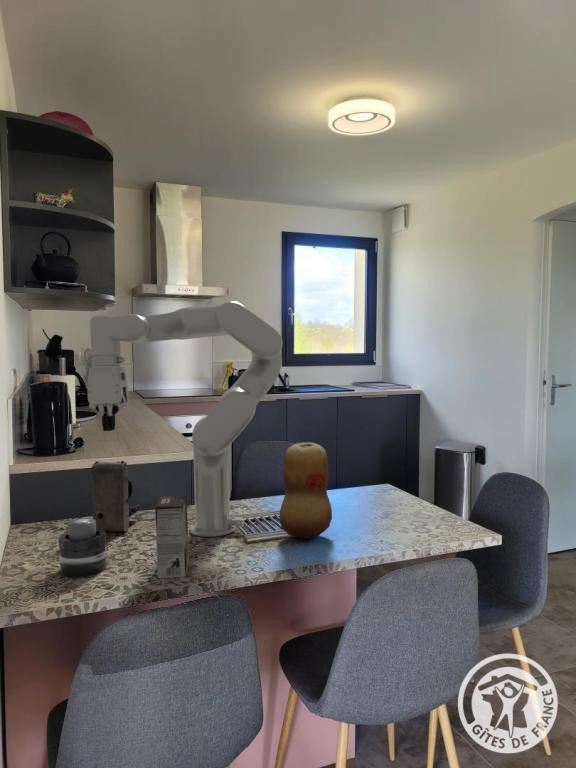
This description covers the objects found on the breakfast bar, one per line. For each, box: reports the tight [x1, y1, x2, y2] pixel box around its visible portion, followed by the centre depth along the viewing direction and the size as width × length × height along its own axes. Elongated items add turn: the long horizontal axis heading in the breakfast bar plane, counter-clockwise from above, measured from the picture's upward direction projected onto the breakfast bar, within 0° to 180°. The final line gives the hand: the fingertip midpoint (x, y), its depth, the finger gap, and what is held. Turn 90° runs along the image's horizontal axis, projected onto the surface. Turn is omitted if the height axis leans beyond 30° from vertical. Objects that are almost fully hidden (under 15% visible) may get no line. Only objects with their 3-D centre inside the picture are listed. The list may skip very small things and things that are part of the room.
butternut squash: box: [279, 441, 333, 540], centre depth 153 cm, size 14×13×25 cm
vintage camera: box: [90, 460, 143, 533], centre depth 168 cm, size 10×16×20 cm, turn 174°
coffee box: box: [155, 495, 190, 579], centre depth 132 cm, size 9×6×16 cm
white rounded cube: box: [67, 517, 96, 540], centre depth 134 cm, size 6×6×5 cm
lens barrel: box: [58, 529, 108, 578], centre depth 134 cm, size 10×10×8 cm
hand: (109, 430), depth 156 cm, fingers closed
